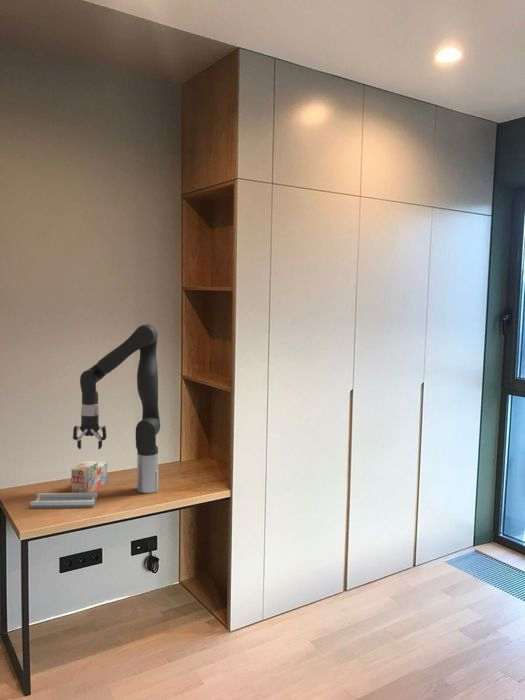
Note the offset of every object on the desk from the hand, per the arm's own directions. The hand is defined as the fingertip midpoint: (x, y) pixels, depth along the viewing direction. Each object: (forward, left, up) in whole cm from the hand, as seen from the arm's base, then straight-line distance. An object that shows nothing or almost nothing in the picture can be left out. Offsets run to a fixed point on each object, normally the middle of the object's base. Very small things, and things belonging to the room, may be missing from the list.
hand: (89, 448), depth 254 cm
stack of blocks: (0, 0, -19) cm, 19 cm away
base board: (+7, +18, -19) cm, 27 cm away
